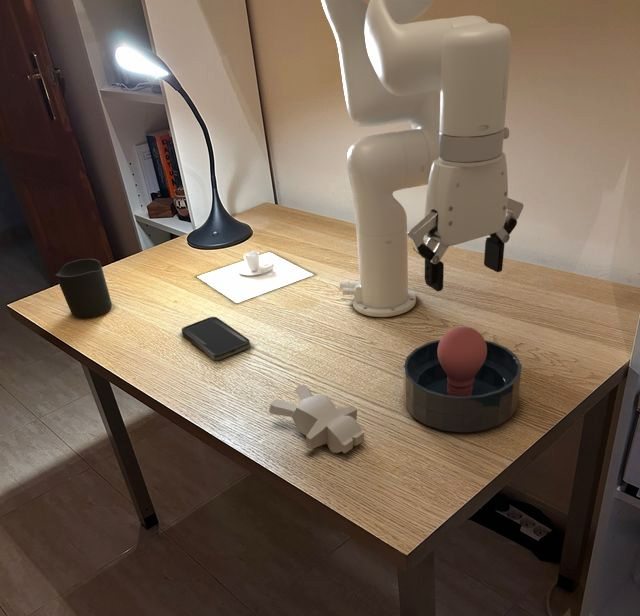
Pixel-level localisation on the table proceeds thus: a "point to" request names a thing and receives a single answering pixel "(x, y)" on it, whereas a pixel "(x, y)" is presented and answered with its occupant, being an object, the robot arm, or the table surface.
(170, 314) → the table surface
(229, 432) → the table surface
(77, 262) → the dark grey spouted beaker
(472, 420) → the dark grey round tub
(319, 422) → the bunny figurine
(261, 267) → the teacup and saucer
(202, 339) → the phone
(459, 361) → the light bulb
